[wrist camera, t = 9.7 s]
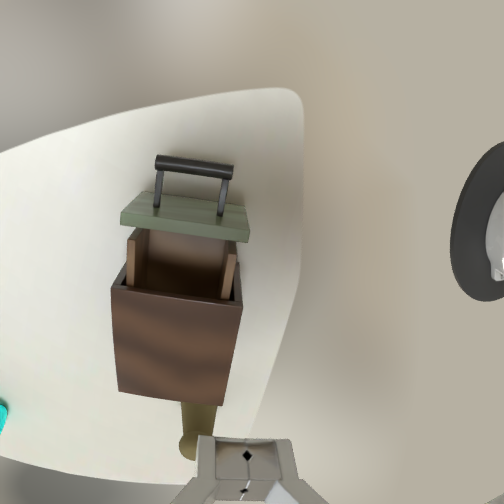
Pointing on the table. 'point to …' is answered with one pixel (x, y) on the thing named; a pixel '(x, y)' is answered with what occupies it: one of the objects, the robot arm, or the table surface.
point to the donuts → (2, 417)
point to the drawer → (184, 235)
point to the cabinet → (174, 342)
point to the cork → (195, 426)
